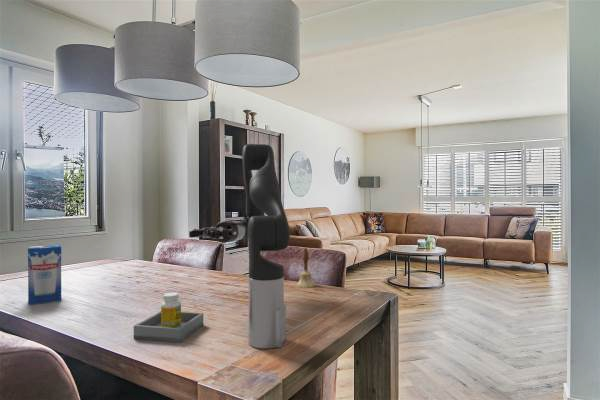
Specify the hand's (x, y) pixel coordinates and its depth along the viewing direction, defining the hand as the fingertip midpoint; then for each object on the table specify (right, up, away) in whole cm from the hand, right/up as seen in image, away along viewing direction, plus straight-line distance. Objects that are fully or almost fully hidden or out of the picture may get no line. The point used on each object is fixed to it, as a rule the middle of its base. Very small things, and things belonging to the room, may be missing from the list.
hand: (200, 234), depth 116 cm
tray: (-5, -26, -13) cm, 30 cm away
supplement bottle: (-5, -26, -12) cm, 29 cm away
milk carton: (-62, -26, +18) cm, 70 cm away
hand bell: (+34, -26, +42) cm, 60 cm away
